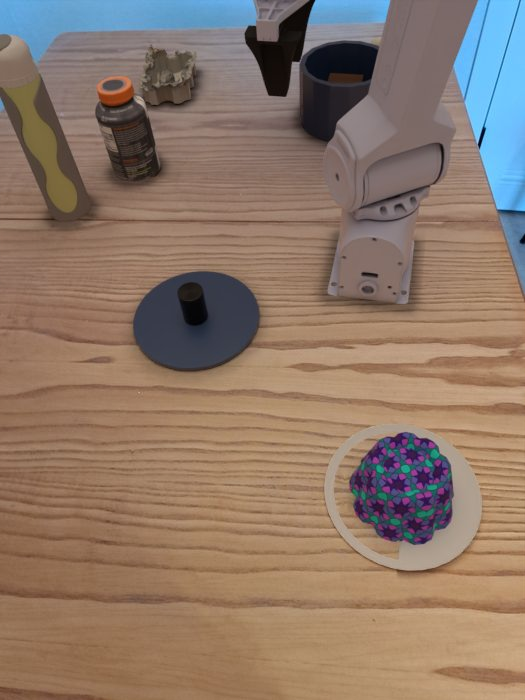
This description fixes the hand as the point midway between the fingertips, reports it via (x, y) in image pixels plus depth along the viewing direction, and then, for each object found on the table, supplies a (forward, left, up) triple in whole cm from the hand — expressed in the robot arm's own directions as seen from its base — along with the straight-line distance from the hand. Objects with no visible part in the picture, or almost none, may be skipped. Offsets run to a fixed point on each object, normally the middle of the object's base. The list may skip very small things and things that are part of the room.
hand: (285, 77), depth 65 cm
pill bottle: (-6, +18, -10) cm, 22 cm away
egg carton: (+14, +20, -10) cm, 26 cm away
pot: (+9, -6, -10) cm, 14 cm away
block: (+9, -6, -9) cm, 14 cm away
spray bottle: (-15, +23, -10) cm, 29 cm away
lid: (-29, +3, -9) cm, 31 cm away
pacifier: (+20, -9, -10) cm, 24 cm away
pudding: (-43, -18, -10) cm, 48 cm away
